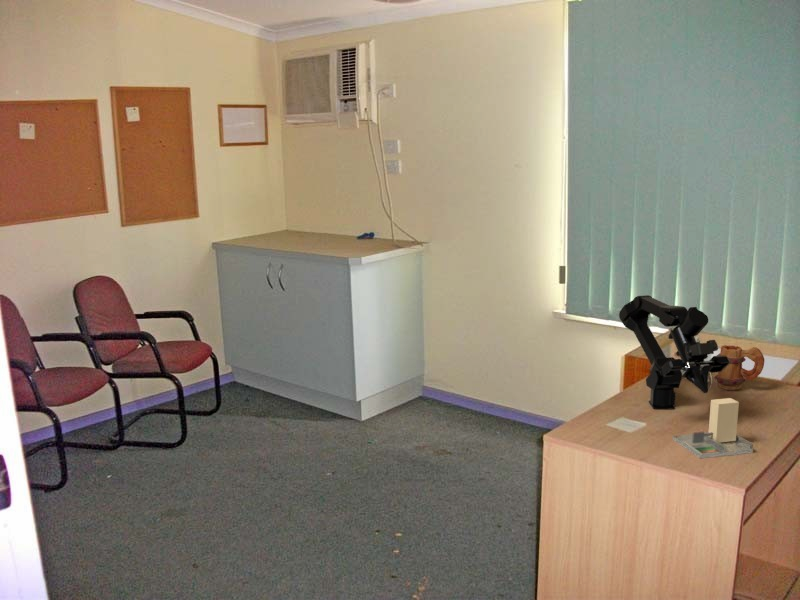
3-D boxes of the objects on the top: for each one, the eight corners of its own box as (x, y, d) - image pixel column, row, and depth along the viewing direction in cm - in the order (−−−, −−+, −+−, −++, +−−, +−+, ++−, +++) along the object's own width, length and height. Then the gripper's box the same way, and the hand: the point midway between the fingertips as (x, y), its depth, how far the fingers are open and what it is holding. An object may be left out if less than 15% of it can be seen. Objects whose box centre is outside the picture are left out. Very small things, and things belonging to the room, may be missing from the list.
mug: (711, 389, 248) (714, 345, 245) (716, 382, 254) (719, 340, 251) (759, 397, 239) (762, 352, 236) (763, 390, 246) (767, 346, 243)
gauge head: (690, 438, 204) (693, 400, 202) (726, 435, 206) (729, 397, 204) (699, 444, 200) (701, 405, 198) (735, 440, 202) (738, 402, 200)
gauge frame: (672, 439, 207) (673, 431, 207) (722, 434, 210) (723, 426, 210) (700, 458, 195) (700, 449, 194) (752, 452, 198) (753, 443, 197)
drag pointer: (692, 442, 201) (692, 431, 200) (702, 441, 201) (703, 430, 200) (693, 443, 200) (694, 432, 199) (703, 442, 201) (704, 431, 200)
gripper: (668, 332, 209) (688, 381, 201) (728, 328, 213) (750, 376, 204) (652, 352, 218) (671, 400, 210) (710, 347, 222) (730, 394, 213)
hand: (706, 392), depth 209 cm, fingers closed
